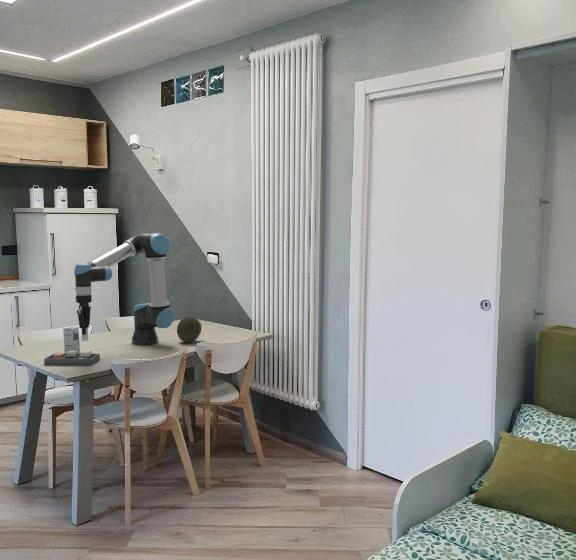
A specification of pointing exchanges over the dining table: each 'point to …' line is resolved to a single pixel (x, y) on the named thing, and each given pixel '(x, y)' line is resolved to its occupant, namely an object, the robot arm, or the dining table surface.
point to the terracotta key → (58, 355)
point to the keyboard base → (72, 360)
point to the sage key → (72, 353)
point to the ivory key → (85, 353)
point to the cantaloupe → (189, 329)
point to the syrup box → (71, 339)
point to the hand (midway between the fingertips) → (85, 340)
